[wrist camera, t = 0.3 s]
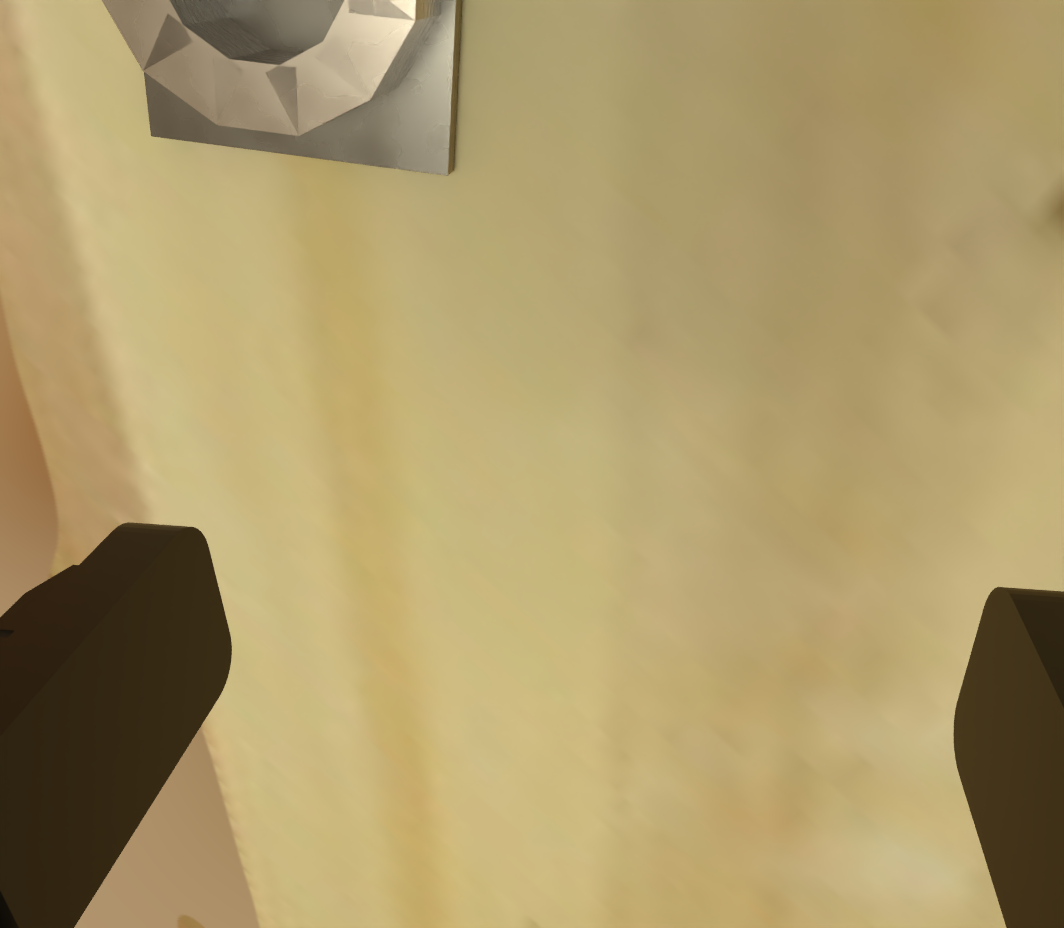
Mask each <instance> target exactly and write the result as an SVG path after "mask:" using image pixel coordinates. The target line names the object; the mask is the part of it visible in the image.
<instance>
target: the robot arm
mask: <svg viewBox="0 0 1064 928" xmlns="http://www.w3.org/2000/svg"><path fill="white" fill-rule="evenodd" d="M231 655H232V645H231V637H230V632H229V628H228V624H227V620H226V616H225V612H224V607H223V603H222V599H221V595H220V591H219V587H218V583H217V579H216V575H215V571H214V567H213V563H212V559H211V555H210V551H209V547H208V544H207V541H206V539H205V537H204V535H203V534H202V532H201V531H199V530H198V529H197V528H194V527H185V526H171V525H157V524H143V523H124V524H122V525H120V526H118V527H117V528H116V529H114V530H113V531H112V532H111V533H110V534H109V535H108V536H107V537H106V538H105V539H104V540H103V541H102V542H101V543H100V544H99V545H98V546H97V548H96V549H95V550H94V551H93V552H92V553H91V554H90V555H89V556H88V557H87V558H86V559H85V560H84V561H83V562H82V563H81V564H80V565H72V566H70V567H69V568H67V569H65V570H64V571H62V572H60V573H59V574H57V575H55V576H54V577H52V578H50V579H48V580H47V581H45V582H43V583H42V584H40V585H38V586H37V587H35V588H33V589H32V590H30V591H28V592H26V593H25V594H24V595H23V596H22V597H21V598H20V599H19V600H18V601H17V602H16V603H15V604H14V605H13V606H12V607H11V608H10V609H9V610H8V611H6V612H5V613H4V614H3V615H2V616H1V617H0V928H74V927H75V925H76V924H77V922H78V920H79V919H80V917H81V916H82V914H83V913H84V911H85V909H86V908H87V906H88V905H89V903H90V901H91V900H92V898H93V897H94V895H95V893H96V892H97V890H98V889H99V887H100V886H101V884H102V882H103V880H104V879H105V877H106V876H107V874H108V873H109V871H110V870H111V868H112V866H113V865H114V863H115V862H116V860H117V858H118V857H119V855H120V854H121V852H122V851H123V849H124V847H125V846H126V844H127V843H128V841H129V839H130V838H131V836H132V834H133V833H134V832H135V830H136V828H137V827H138V825H139V824H140V822H141V820H142V818H143V817H144V815H145V814H146V812H147V811H148V809H149V808H150V806H151V804H152V803H153V801H154V800H155V798H156V797H157V795H158V793H159V792H160V790H161V788H162V787H163V785H164V784H165V782H166V781H167V779H168V777H169V776H170V774H171V773H172V771H173V770H174V768H175V766H176V765H177V763H178V762H179V760H180V758H181V757H182V755H183V753H184V752H185V750H186V749H187V747H188V746H189V744H190V743H191V741H192V739H193V738H194V736H195V734H196V733H197V731H198V730H199V728H200V727H201V725H202V723H203V722H204V720H205V719H206V717H207V716H208V714H209V712H210V711H211V709H212V708H213V706H214V704H215V703H216V701H217V700H218V698H219V696H220V695H221V693H222V691H223V688H224V686H225V684H226V681H227V678H228V674H229V670H230V664H231ZM954 750H955V758H956V764H957V768H958V772H959V776H960V779H961V782H962V785H963V789H964V792H965V795H966V798H967V802H968V805H969V808H970V811H971V814H972V818H973V821H974V824H975V827H976V831H977V834H978V837H979V840H980V843H981V847H982V850H983V853H984V856H985V860H986V863H987V866H988V869H989V872H990V876H991V879H992V882H993V885H994V888H995V892H996V895H997V898H998V901H999V905H1000V908H1001V911H1002V914H1003V917H1004V921H1005V924H1006V927H1007V928H1064V592H1061V591H1047V590H1033V589H1019V588H1005V587H997V588H995V589H994V590H993V591H992V592H991V593H990V595H989V596H988V598H987V600H986V603H985V606H984V609H983V613H982V616H981V620H980V623H979V627H978V631H977V634H976V638H975V641H974V645H973V648H972V652H971V655H970V659H969V662H968V666H967V669H966V673H965V676H964V680H963V684H962V687H961V691H960V694H959V698H958V701H957V705H956V710H955V718H954Z"/></svg>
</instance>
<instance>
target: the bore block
mask: <svg viewBox="0 0 1064 928" xmlns="http://www.w3.org/2000/svg"><path fill="white" fill-rule="evenodd" d="M102 1H103V3H104V5H105V6H106V8H107V10H108V12H109V13H110V15H111V17H112V18H113V20H114V22H115V24H116V25H117V27H118V29H119V31H120V32H121V34H122V36H123V37H124V39H125V41H126V43H127V44H128V46H129V48H130V49H131V51H132V53H133V55H134V56H135V58H136V60H137V61H138V63H139V65H140V67H141V68H142V70H143V71H144V77H145V86H146V95H147V103H148V112H149V121H150V130H151V136H154V137H162V138H169V139H177V140H184V141H192V142H199V143H207V144H214V145H222V146H229V147H237V148H244V149H252V150H259V151H267V152H274V153H281V154H289V155H296V156H304V157H311V158H319V159H326V160H334V161H341V162H349V163H356V164H364V165H371V166H379V167H386V168H394V169H401V170H409V171H416V172H424V173H431V174H439V175H446V176H448V175H449V174H450V173H451V172H452V171H453V170H454V155H455V134H456V114H457V94H458V74H459V53H460V33H461V13H462V0H102Z"/></svg>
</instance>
